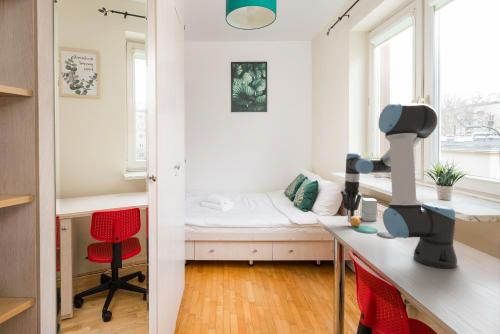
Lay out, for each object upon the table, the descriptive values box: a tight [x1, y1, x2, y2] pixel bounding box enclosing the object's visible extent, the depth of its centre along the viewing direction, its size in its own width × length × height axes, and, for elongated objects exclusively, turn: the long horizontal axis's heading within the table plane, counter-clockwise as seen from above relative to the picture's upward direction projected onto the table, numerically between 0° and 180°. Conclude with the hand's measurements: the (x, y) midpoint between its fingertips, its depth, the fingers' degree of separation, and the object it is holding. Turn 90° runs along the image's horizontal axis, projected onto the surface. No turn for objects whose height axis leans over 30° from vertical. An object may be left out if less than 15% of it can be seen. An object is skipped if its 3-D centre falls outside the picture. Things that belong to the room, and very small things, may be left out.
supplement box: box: [360, 197, 378, 222], centre depth 180 cm, size 7×7×13 cm
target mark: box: [352, 225, 379, 234], centre depth 161 cm, size 13×13×1 cm
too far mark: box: [376, 231, 397, 239], centre depth 151 cm, size 9×9×1 cm
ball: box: [349, 216, 362, 227], centre depth 166 cm, size 6×6×6 cm
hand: (350, 221), depth 168 cm, fingers closed
